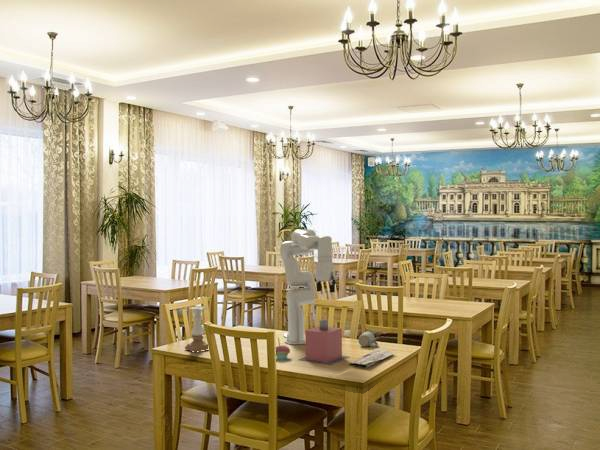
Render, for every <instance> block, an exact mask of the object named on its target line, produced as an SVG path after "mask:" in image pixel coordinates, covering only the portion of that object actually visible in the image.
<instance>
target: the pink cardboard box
mask: <svg viewBox="0 0 600 450" xmlns="http://www.w3.org/2000/svg"><path fill="white" fill-rule="evenodd" d="M318 322H319V324H318V326H315V327H313V328H309V329H306V330H305V329H304V333H305V339H306V343H305V357H306V360H312V361H319V362H325V363H329V362H331V361H334V360H336V359H339V358H341V357H342V356H343V338H342V337H343V331H342V330H343V329H342V328H339V327H330V326H329V320H328V319H327V318H321V319H319V320H318Z"/></svg>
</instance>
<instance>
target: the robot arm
mask: <svg viewBox="0 0 600 450" xmlns="http://www.w3.org/2000/svg"><path fill="white" fill-rule="evenodd" d="M290 238H291V240H287V241H284V242H282V243H281V244H280V248H279V253H280V258H281V259H282V262H283V265H284V274H285V279H286V284H287V286H288V287H290V288H292V289H289V290H288V291H286V296H285V297H286V304H287V324H288V325H287V326H288V327H287V330H288V331H287V332H288V333H284V335H283V338H284V339H286V340H285V343H286V344H287V345H306V338H305V311H304V310H303V308H302V305H303V306H304V305H313V304H314V303H315V302H316V292H323V291H322V290H323V289H322V287H323V285H322V282H328V283H329V293H335V292H336V286H335V285H336V283H337V282H338V279H339V276H338V275H337V274H335V267H334V263H333V245H332V244H333V241H332V239H333V238H332V237H331V236H328V235H317V234H316V231H315V230H313V229H311V228H310V229H295V230H293V232H292V233H291V236H290ZM314 250H315V251H317V257H316V259H317V262H316V266H315V273H314V274H312V273H311V271H310V270H306V269H305V270H300V266H299V264H300V263H299V262H298V261H297V259H296V258H295V257H294V256H306V255H308V254H309V253H310V252H311V251H314ZM314 282H315V284H316V290H315V284H314ZM300 287H302V288H300ZM303 287H304V288H303Z"/></svg>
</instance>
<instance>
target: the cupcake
mask: <svg viewBox="0 0 600 450" xmlns="http://www.w3.org/2000/svg"><path fill="white" fill-rule="evenodd" d="M277 342H278V343H277V344H278V345H277V346H276V354H275V356H276V360H287V359H288V355H289V354H291V349H290V347H288V346H287V345H281V343H280V338H279V337H277Z"/></svg>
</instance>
